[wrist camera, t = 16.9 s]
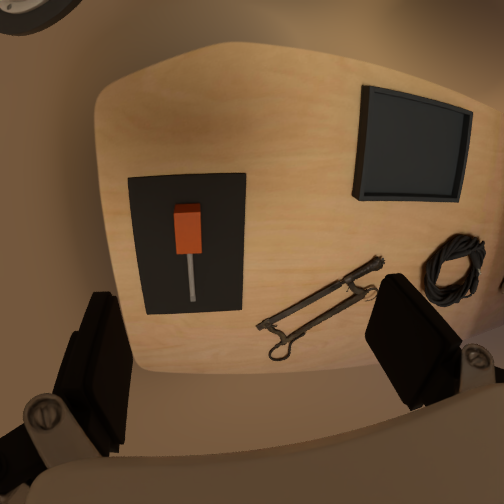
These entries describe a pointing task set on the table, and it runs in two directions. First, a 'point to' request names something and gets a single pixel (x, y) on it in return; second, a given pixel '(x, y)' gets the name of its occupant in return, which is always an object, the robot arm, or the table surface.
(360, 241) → the table surface
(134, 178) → the mat
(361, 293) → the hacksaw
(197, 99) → the table surface
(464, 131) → the tray
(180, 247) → the screwdriver
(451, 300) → the cable
